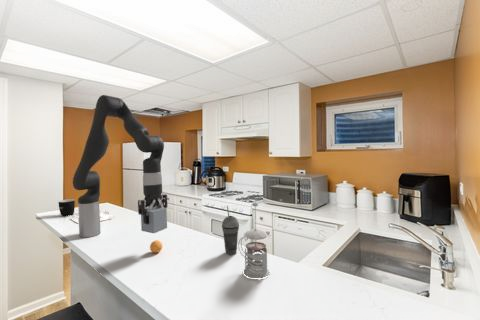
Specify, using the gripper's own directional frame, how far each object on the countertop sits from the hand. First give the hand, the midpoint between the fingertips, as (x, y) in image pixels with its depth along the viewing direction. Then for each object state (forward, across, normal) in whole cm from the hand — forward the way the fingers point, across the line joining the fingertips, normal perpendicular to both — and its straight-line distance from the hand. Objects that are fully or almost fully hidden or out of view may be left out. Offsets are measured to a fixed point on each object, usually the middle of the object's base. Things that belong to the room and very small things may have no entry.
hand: (154, 221), depth 103 cm
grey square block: (+4, 0, 0) cm, 4 cm away
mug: (+13, -17, -100) cm, 102 cm away
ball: (+11, 0, +1) cm, 11 cm away
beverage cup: (+14, -13, +30) cm, 35 cm away
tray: (+14, -21, -79) cm, 83 cm away
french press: (+14, -3, +45) cm, 47 cm away
